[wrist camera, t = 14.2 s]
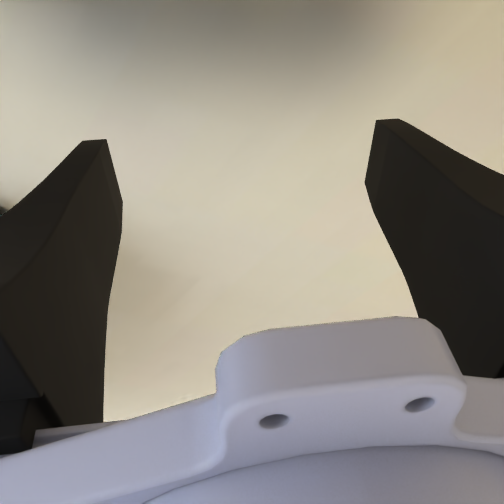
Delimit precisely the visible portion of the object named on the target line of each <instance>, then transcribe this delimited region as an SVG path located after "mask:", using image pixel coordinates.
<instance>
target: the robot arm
mask: <svg viewBox="0 0 504 504" xmlns="http://www.w3.org/2000/svg"><path fill="white" fill-rule="evenodd" d="M365 185H366V189H367V193H368V196H369V200H370V203H371V206H372V209H373V212H374V214H375V216H376V218H377V220H378V223H379V225H380V227H381V229H382V231H383V233H384V235H385V237H386V239H387V241H388V243H389V245H390V247H391V249H392V251H393V253H394V256H395V258H396V260H397V262H398V264H399V266H400V268H401V270H402V272H403V275H404V277H405V279H406V282H407V284H408V287H409V290H410V293H411V296H412V299H413V302H414V305H415V307H416V310H417V314H418V317H419V318H411V317H398V316H394V317H384V318H374V319H364V320H354V321H344V322H334V323H324V324H314V325H304V326H294V327H284V328H275V329H268V330H264V331H260V332H257V333H253V334H249V335H245V336H243V337H242V338H240V339H239V340H237V341H236V342H235V343H233V344H232V345H230V346H229V347H228V348H226V349H225V350H224V351H222V352H221V354H220V357H219V360H218V363H217V365H216V368H215V374H216V390H217V392H216V393H214V394H211V395H208V396H204V397H201V398H198V399H194V400H191V401H188V402H185V403H181V404H178V405H175V406H171V407H168V408H165V409H161V410H158V411H155V412H152V413H148V414H145V415H142V416H138V417H135V418H132V419H128V420H120V421H111V422H103V402H104V368H105V346H106V329H107V314H108V305H109V298H110V292H111V287H112V282H113V276H114V271H115V266H116V261H117V255H118V250H119V244H120V239H121V233H122V207H123V201H122V197H121V193H120V190H119V186H118V182H117V178H116V174H115V170H114V167H113V163H112V159H111V155H110V151H109V147H108V143H107V140H106V139H101V140H87V141H82V142H81V143H80V144H79V145H78V146H77V147H76V148H75V149H74V150H73V151H72V152H71V153H70V154H69V155H68V156H67V157H66V158H65V159H64V160H63V161H62V162H61V163H60V164H59V165H58V166H57V167H56V168H55V169H54V170H53V171H52V172H51V173H50V174H49V175H48V176H47V177H46V178H45V179H44V180H43V181H42V182H41V183H40V184H39V185H38V186H37V187H36V188H34V189H33V190H32V191H31V192H30V193H29V194H28V195H27V196H26V197H24V198H23V199H22V200H21V201H20V202H19V203H18V204H16V205H15V206H14V207H13V208H11V209H10V210H9V211H7V212H6V213H5V214H3V215H2V216H1V217H0V504H504V175H503V174H500V173H498V172H496V171H494V170H491V169H489V168H487V167H485V166H483V165H481V164H479V163H477V162H475V161H473V160H471V159H469V158H467V157H466V156H464V155H462V154H460V153H458V152H457V151H455V150H453V149H451V148H450V147H448V146H446V145H444V144H443V143H441V142H439V141H438V140H436V139H434V138H433V137H431V136H429V135H428V134H426V133H424V132H422V131H421V130H419V129H417V128H416V127H414V126H412V125H410V124H408V123H407V122H405V121H402V120H400V119H385V120H376V123H375V129H374V134H373V140H372V145H371V151H370V156H369V162H368V167H367V172H366V178H365Z"/></svg>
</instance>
